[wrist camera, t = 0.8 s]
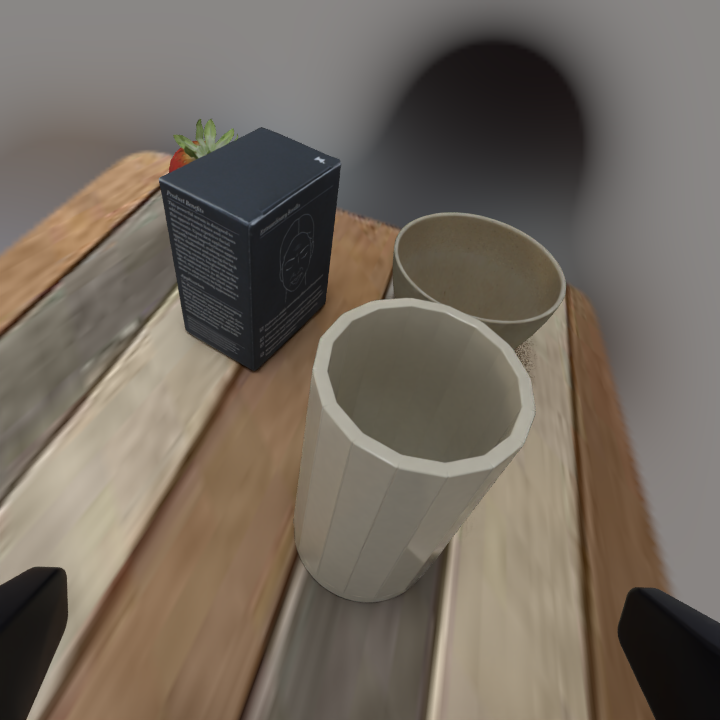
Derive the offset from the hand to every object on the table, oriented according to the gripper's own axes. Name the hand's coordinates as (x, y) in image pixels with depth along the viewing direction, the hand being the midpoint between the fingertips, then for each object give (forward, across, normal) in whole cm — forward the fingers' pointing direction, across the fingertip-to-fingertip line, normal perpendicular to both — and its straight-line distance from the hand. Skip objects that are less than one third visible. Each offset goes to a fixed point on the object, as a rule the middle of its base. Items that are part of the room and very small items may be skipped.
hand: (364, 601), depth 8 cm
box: (+26, +4, +1) cm, 26 cm away
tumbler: (+15, -3, +8) cm, 17 cm away
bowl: (+25, -8, +1) cm, 27 cm away
